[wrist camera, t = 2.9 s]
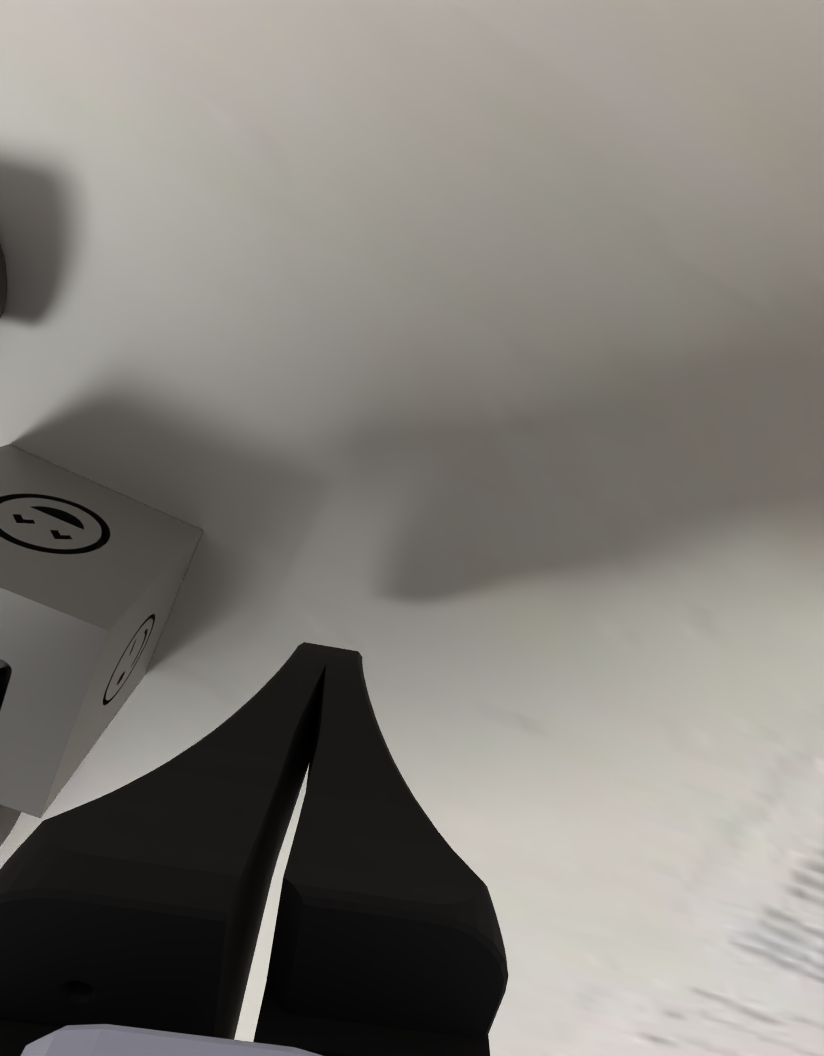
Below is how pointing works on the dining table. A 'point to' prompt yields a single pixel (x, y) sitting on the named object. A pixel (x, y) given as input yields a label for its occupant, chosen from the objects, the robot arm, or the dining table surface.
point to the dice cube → (74, 616)
